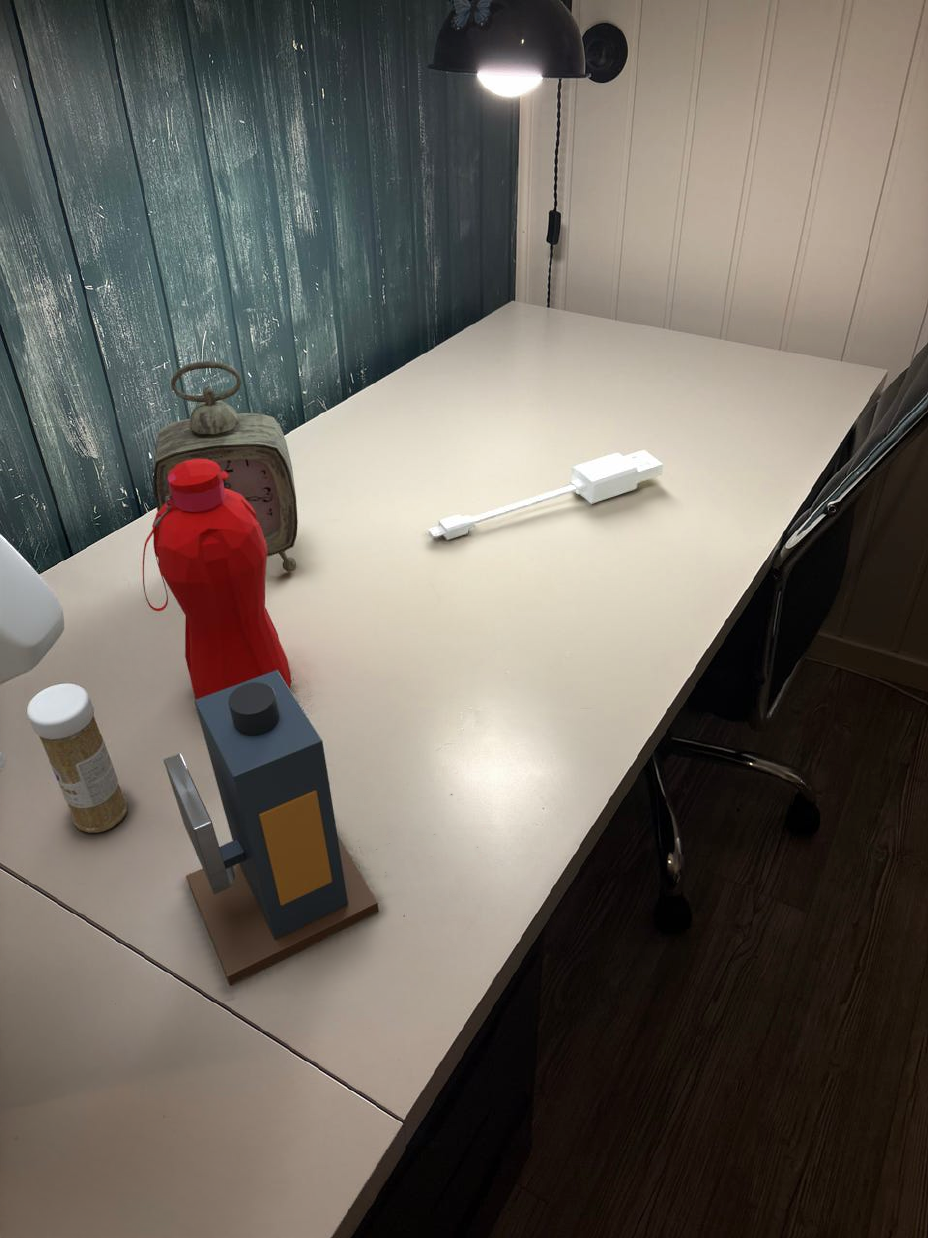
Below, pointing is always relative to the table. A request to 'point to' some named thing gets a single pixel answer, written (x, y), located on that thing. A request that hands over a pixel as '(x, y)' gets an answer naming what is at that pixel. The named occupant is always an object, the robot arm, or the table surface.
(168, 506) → the water bottle
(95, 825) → the sprinkles bottle
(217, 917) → the dispenser
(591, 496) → the charging cable
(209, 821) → the brushed metal plate
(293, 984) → the table surface
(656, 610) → the table surface
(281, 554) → the tabletop clock
